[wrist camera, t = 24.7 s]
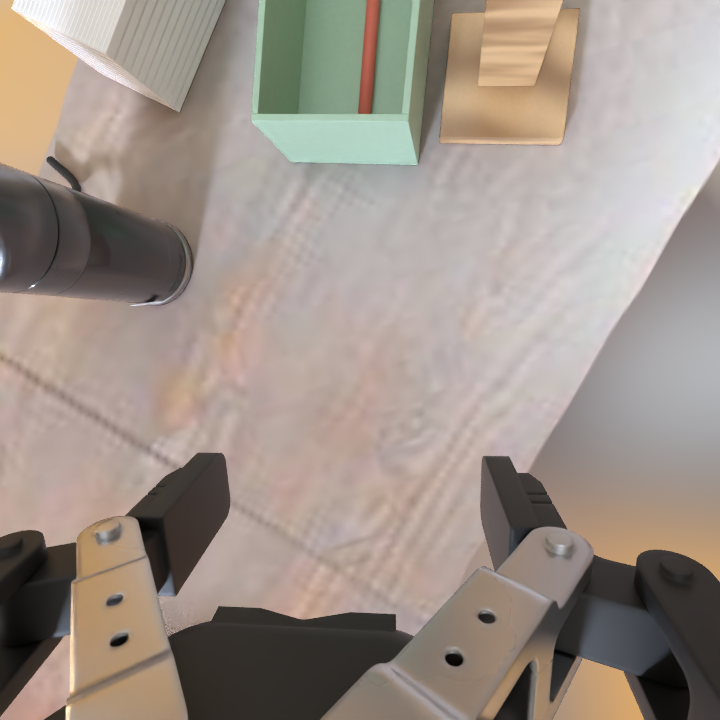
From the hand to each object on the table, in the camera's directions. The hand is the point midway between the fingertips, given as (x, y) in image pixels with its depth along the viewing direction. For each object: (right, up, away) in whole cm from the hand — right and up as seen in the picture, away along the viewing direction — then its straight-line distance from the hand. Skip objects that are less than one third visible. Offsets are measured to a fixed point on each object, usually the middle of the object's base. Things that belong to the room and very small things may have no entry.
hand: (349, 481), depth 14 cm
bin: (+1, +35, +31) cm, 47 cm away
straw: (+1, +35, +29) cm, 45 cm away
